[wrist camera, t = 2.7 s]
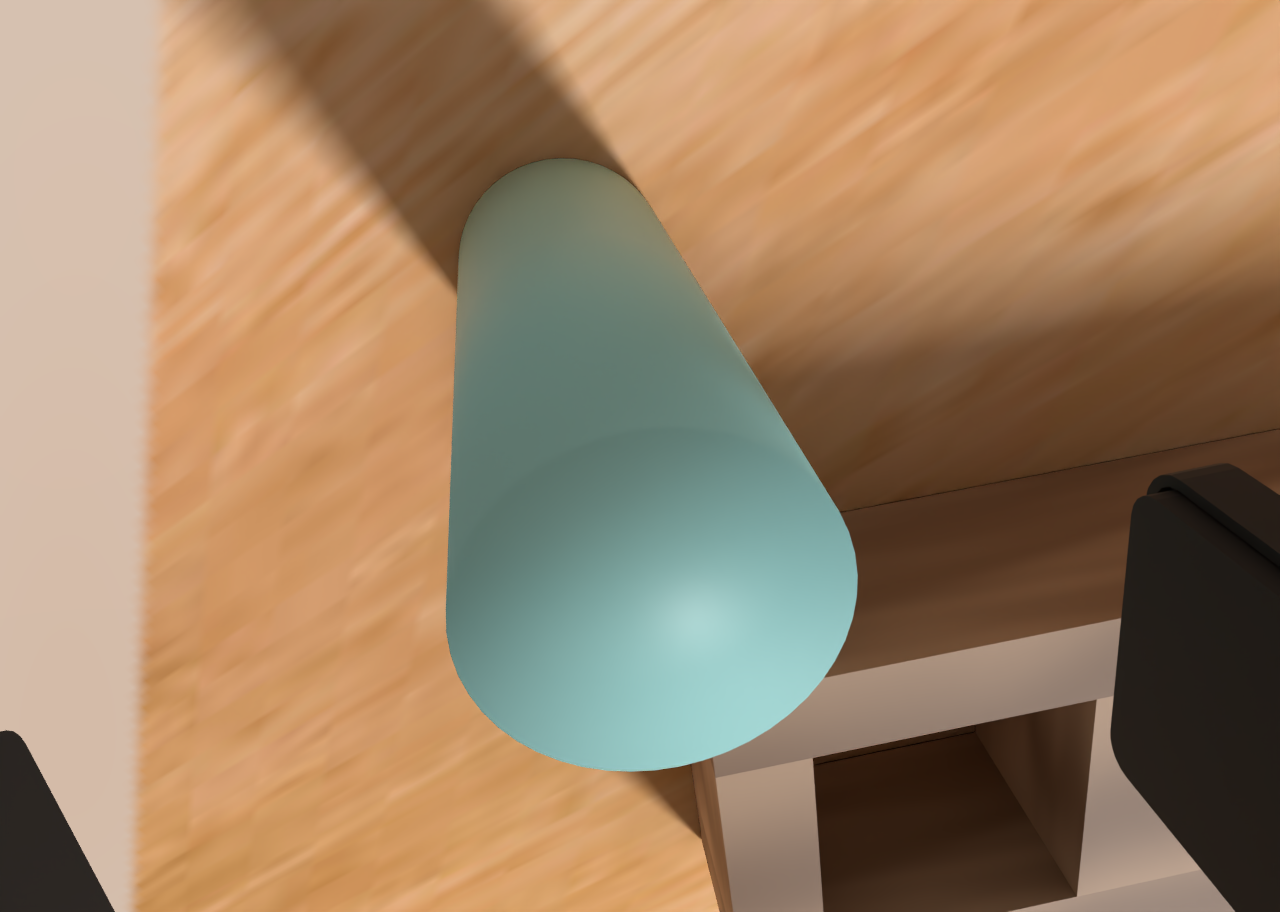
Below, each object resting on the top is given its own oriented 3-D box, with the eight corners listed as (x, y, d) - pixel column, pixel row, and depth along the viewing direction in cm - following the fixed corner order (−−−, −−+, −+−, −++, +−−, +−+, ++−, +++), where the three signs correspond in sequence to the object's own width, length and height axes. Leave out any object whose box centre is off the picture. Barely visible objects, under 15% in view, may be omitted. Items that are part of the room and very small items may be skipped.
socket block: (659, 547, 22) (705, 701, 18) (1442, 398, 24) (1666, 508, 19) (702, 841, 27) (747, 1024, 22) (1364, 702, 28) (1532, 850, 23)
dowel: (438, 177, 18) (401, 473, 9) (651, 141, 18) (850, 390, 9) (481, 375, 20) (491, 804, 10) (676, 340, 20) (863, 728, 11)
